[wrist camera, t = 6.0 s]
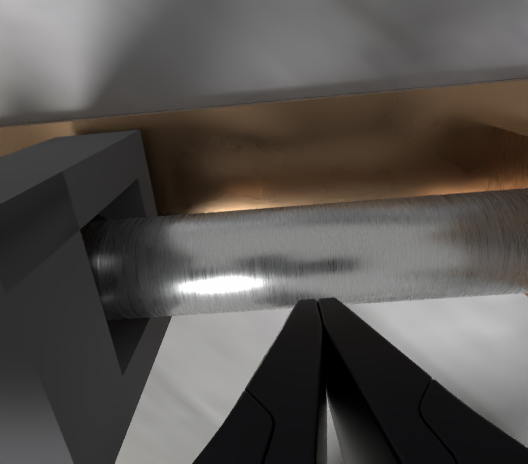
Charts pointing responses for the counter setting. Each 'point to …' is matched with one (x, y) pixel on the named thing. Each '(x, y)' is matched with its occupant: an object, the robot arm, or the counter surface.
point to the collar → (68, 301)
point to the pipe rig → (316, 201)
